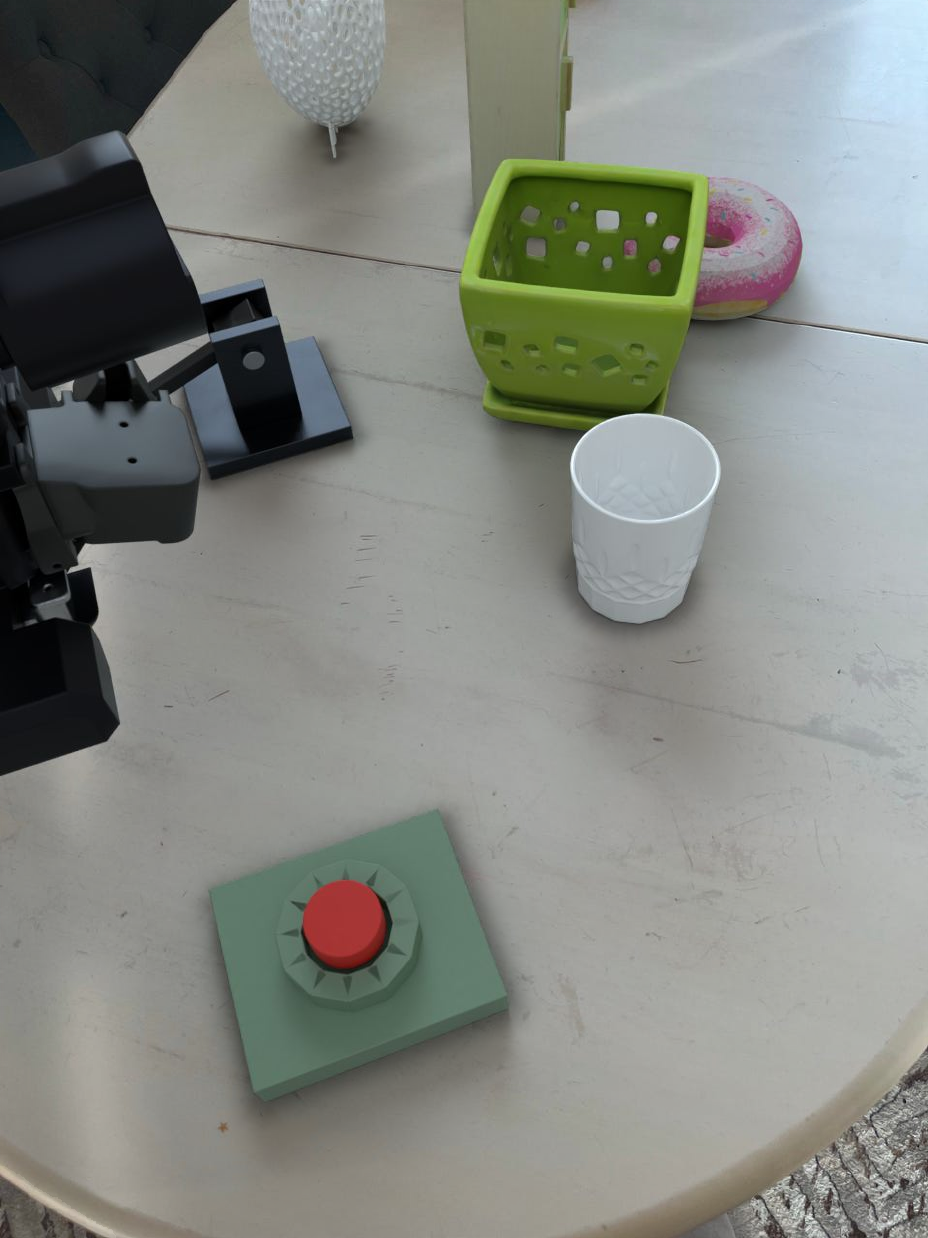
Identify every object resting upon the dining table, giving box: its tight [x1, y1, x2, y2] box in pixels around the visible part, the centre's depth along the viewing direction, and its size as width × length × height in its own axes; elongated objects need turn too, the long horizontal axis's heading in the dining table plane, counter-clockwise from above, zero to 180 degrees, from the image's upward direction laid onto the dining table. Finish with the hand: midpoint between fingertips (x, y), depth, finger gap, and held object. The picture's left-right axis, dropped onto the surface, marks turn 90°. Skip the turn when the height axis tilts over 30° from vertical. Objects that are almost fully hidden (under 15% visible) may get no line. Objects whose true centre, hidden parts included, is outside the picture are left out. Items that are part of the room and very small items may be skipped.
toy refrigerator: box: [462, 0, 578, 230], centre depth 78 cm, size 8×7×21 cm
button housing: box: [208, 808, 509, 1103], centre depth 51 cm, size 12×10×4 cm
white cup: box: [569, 414, 722, 625], centre depth 60 cm, size 8×8×10 cm
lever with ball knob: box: [130, 299, 264, 400], centre depth 70 cm, size 15×3×3 cm, turn 109°
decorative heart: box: [248, 0, 387, 159], centre depth 88 cm, size 18×11×17 cm, turn 179°
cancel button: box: [303, 880, 386, 969], centre depth 48 cm, size 4×4×2 cm
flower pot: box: [458, 159, 709, 432], centre depth 69 cm, size 14×14×13 cm
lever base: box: [182, 278, 354, 481], centre depth 71 cm, size 10×10×9 cm
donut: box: [624, 176, 803, 321], centre depth 78 cm, size 14×13×5 cm
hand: (75, 667), depth 48 cm, fingers closed
